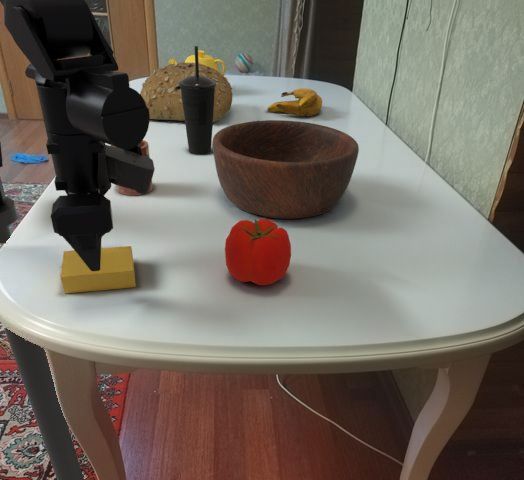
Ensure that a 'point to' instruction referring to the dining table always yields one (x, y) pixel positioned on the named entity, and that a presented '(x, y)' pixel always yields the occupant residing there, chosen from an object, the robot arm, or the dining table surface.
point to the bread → (169, 92)
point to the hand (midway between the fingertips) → (96, 253)
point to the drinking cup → (198, 110)
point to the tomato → (257, 251)
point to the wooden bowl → (284, 167)
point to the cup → (129, 191)
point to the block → (108, 277)
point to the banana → (299, 103)
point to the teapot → (204, 61)
